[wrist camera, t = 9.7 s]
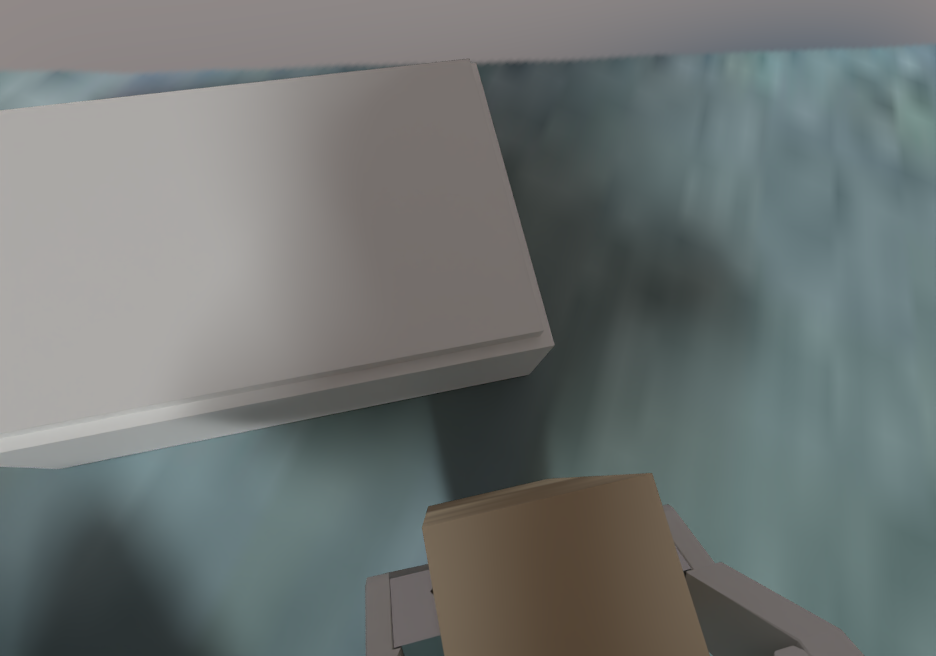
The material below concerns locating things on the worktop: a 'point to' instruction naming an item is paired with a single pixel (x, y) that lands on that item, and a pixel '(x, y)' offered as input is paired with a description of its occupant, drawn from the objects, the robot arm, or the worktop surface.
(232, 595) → the worktop surface
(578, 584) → the maple block
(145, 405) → the grey box
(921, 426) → the worktop surface
